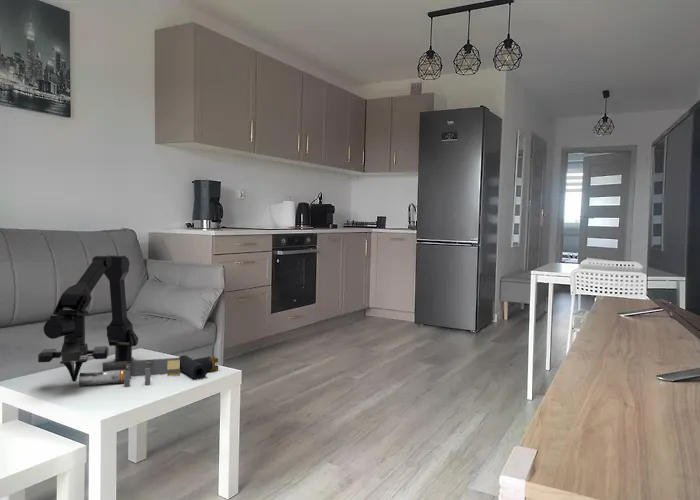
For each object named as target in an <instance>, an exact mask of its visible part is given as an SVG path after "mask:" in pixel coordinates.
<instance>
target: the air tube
mask: <svg viewBox="0 0 700 500" xmlns="http://www.w3.org/2000/svg"><path fill="white" fill-rule="evenodd" d="M124 371H125V370H113V371H103V370H102V371H87V372H79V374H78V376H79V377H78V383H79V384H78V385H79V387H84V386H85V387H86V386H97V385H107V384H110V385H111V384H122V383H124Z"/></svg>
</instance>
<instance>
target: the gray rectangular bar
mask: <svg viewBox="0 0 700 500" xmlns="http://www.w3.org/2000/svg"><path fill="white" fill-rule="evenodd" d="M150 361H151V376H153V375H165V374H166V375H167V377H177V376H181V373H180V371H181V370H180V358H179V357H167V358H154V359H152V358H151V359H139V360H137V359H136V360H135V359H134V360H133V361H119V362H114V361H107V362H106V361H105V362H102V371H113V370H126V363H131V377H138V376H139V377H141V376H145V368H146V362H150Z"/></svg>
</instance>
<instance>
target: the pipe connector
mask: <svg viewBox="0 0 700 500" xmlns="http://www.w3.org/2000/svg"><path fill="white" fill-rule="evenodd" d="M178 358H180V371H182V372H184V373H185V374H187V375H189V376H190V377H191V378H193V379H194V380H202V379H204V378H205V377H206V376H207V373H208V372H214V371H219V365H218V364H216V363H219V358H218V357H216V356H215V355H209V356H206V357H201V358H200V357H198V358H195V359H193V358H191V357H189V356H188V355H185V354H184V355H180V356H178Z"/></svg>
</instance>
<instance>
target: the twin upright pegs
mask: <svg viewBox="0 0 700 500" xmlns="http://www.w3.org/2000/svg"><path fill="white" fill-rule="evenodd" d="M151 378H152V375H151V361H150V362H146V368H145V375H144V379H145V380H144V385H145V386H150V385H151ZM131 380H132V376H131V363H126V370H125V371H124V385H123V386H124V387H126V388H128V387H130V385H131Z"/></svg>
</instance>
